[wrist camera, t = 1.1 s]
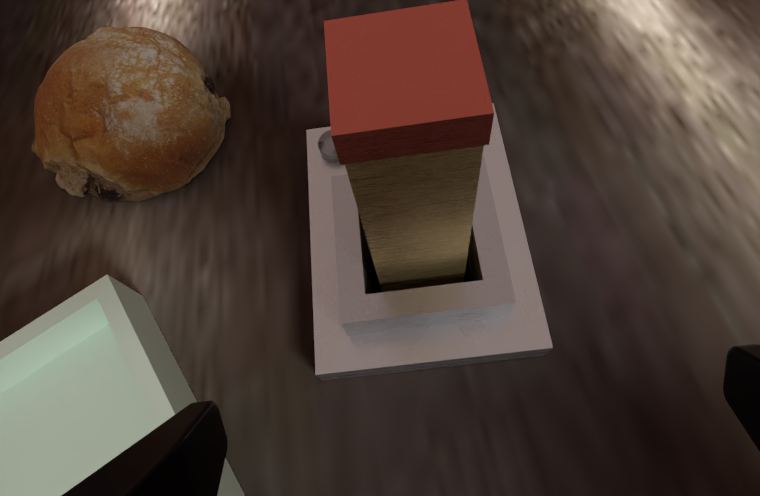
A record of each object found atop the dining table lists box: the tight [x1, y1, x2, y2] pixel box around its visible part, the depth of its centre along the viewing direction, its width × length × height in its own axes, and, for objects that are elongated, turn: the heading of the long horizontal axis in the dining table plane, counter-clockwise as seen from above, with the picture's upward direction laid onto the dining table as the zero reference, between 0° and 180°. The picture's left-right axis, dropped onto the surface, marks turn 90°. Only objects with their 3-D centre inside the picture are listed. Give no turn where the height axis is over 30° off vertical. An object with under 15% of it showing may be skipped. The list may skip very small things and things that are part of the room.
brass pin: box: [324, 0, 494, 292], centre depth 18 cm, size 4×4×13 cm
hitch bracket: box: [306, 103, 553, 381], centre depth 23 cm, size 13×10×4 cm
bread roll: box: [32, 26, 231, 203], centre depth 27 cm, size 10×10×8 cm
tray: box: [0, 275, 245, 496], centre depth 20 cm, size 12×12×3 cm
